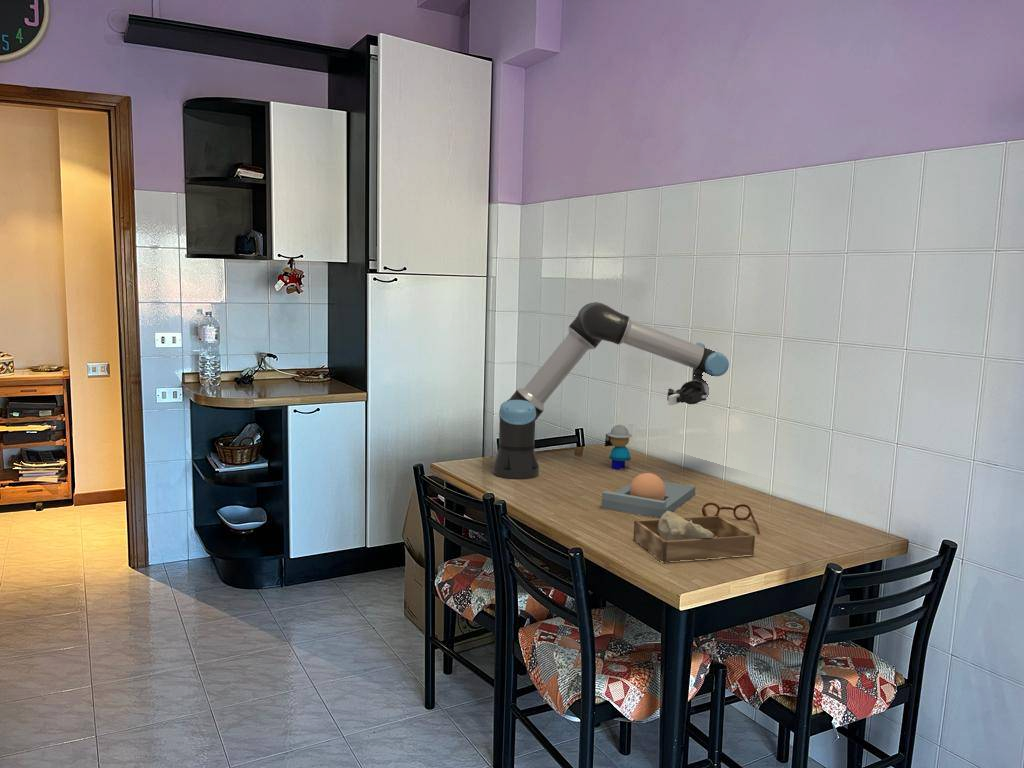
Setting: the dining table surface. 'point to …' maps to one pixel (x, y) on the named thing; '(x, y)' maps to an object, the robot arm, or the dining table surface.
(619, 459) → the toy
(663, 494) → the ball
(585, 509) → the dining table surface
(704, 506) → the glasses
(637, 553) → the dining table surface
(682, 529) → the beige irregular lump
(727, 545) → the wooden tray
